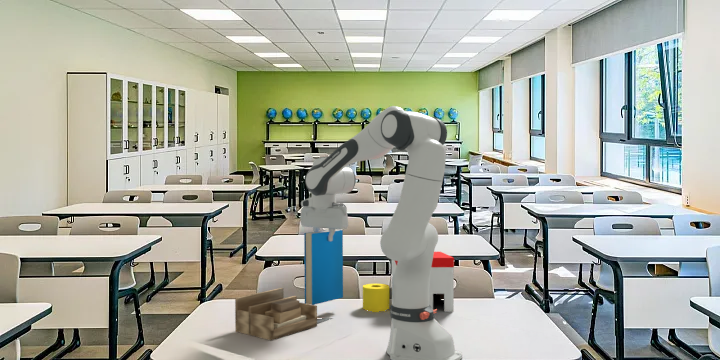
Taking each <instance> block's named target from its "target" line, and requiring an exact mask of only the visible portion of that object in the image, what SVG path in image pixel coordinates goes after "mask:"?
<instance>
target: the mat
mask: <svg viewBox="0 0 720 360" xmlns="http://www.w3.org/2000/svg"><path fill="white" fill-rule="evenodd" d="M329 319H330V320H332V319H333V318H322V319H317V325H318V324H322V323H324V322H326V321H327V322H328V321H329Z"/></svg>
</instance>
